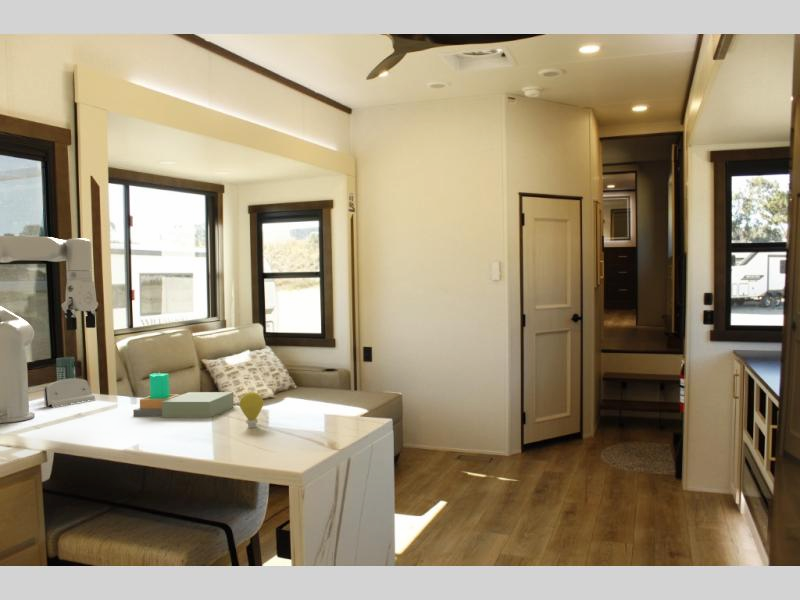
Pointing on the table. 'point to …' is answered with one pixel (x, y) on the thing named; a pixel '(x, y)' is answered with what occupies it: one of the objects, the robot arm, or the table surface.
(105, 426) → the table surface
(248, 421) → the light bulb
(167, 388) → the candle
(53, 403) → the hinge
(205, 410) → the desk organizer
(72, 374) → the can
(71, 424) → the table surface
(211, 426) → the table surface
